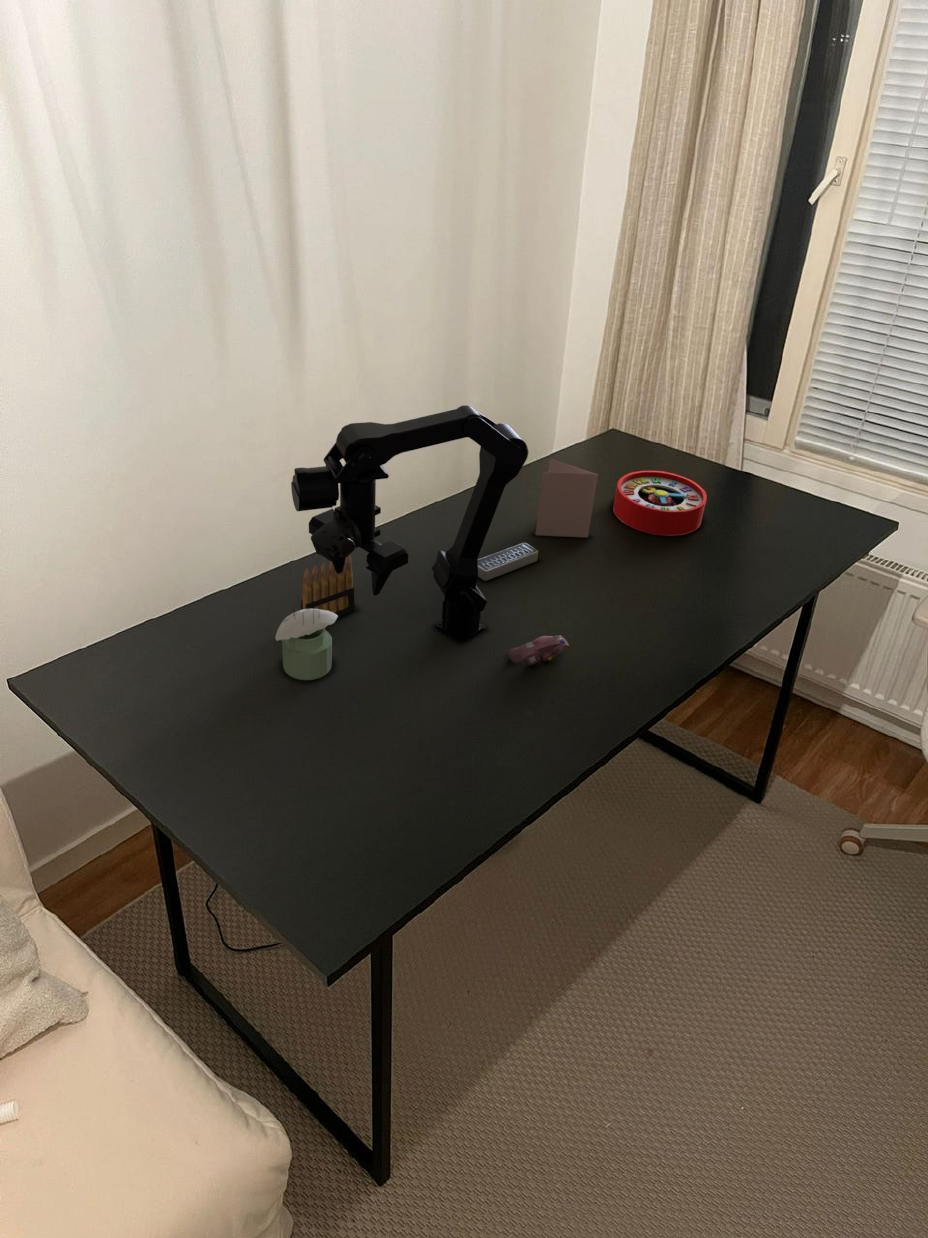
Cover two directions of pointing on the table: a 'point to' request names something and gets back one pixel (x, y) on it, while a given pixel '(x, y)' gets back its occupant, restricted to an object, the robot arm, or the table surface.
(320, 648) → the pale green cup
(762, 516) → the table surface
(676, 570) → the table surface
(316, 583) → the ammunition clip
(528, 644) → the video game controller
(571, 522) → the greeting card
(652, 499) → the toy clock
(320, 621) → the pincushion
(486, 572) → the multiport hub
